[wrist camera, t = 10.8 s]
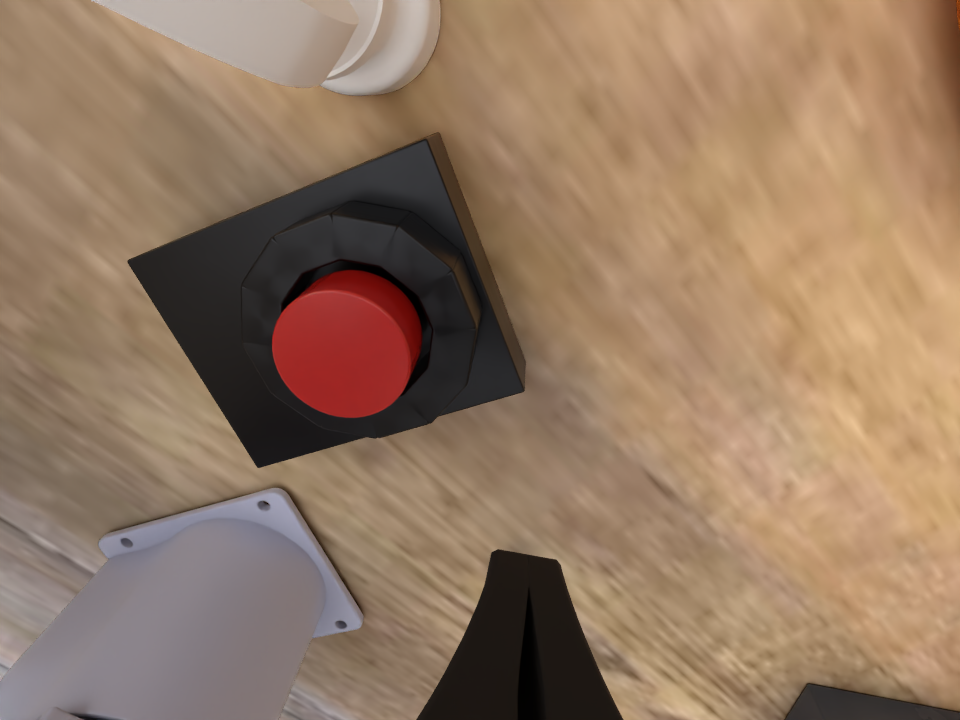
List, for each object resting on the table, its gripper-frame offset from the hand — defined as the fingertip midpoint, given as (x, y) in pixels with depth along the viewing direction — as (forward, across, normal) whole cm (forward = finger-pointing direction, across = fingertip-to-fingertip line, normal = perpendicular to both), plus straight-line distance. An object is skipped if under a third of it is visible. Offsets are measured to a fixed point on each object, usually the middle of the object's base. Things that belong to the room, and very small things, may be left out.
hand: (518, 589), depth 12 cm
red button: (+6, +5, -2) cm, 8 cm away
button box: (+9, +6, -2) cm, 11 cm away
